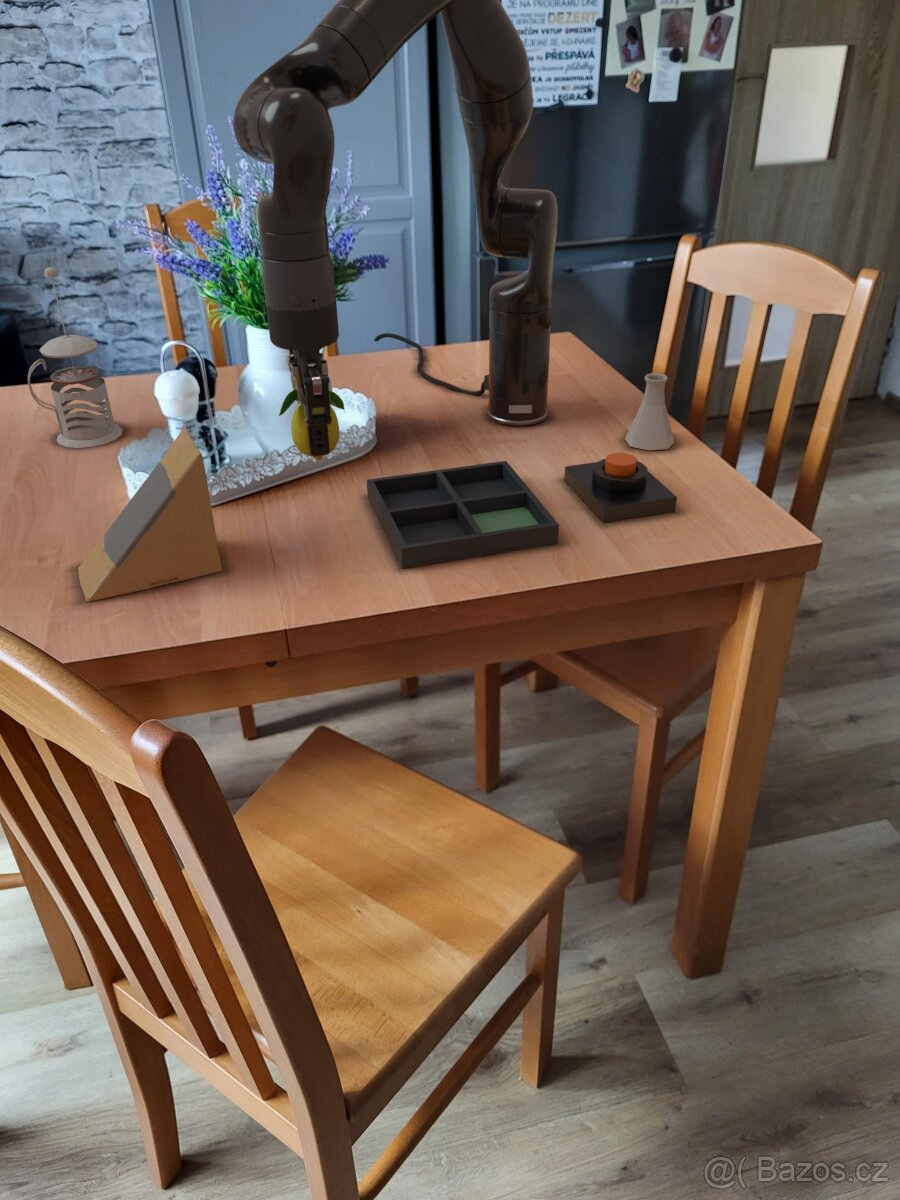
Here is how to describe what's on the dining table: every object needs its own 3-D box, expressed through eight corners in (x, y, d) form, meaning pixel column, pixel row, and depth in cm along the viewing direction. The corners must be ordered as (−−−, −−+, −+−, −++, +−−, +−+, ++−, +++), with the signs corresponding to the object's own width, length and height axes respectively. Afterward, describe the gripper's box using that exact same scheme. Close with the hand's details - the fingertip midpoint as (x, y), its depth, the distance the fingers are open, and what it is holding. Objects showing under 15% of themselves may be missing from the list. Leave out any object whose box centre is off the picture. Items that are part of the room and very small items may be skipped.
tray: (367, 497, 124) (366, 479, 123) (505, 478, 129) (506, 460, 127) (402, 568, 108) (401, 548, 107) (558, 544, 113) (559, 524, 111)
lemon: (285, 471, 108) (275, 388, 102) (292, 450, 113) (283, 369, 107) (343, 470, 108) (336, 386, 102) (348, 449, 113) (341, 368, 107)
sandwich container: (76, 568, 110) (44, 449, 102) (206, 539, 115) (185, 424, 107) (85, 603, 103) (52, 479, 95) (222, 571, 109) (202, 451, 100)
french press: (125, 441, 141) (89, 271, 128) (44, 454, 138) (-3, 280, 124) (120, 419, 149) (84, 256, 136) (42, 430, 146) (-2, 264, 132)
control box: (564, 481, 128) (565, 453, 126) (631, 471, 130) (633, 444, 128) (603, 523, 117) (605, 494, 115) (675, 512, 119) (678, 484, 117)
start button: (599, 467, 123) (600, 454, 122) (627, 463, 124) (628, 450, 123) (612, 479, 120) (613, 466, 119) (640, 475, 120) (642, 462, 119)
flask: (674, 453, 135) (682, 386, 129) (623, 450, 136) (629, 384, 131) (674, 434, 141) (682, 369, 135) (625, 431, 142) (631, 367, 137)
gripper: (347, 312, 95) (359, 464, 104) (324, 278, 107) (336, 417, 116) (273, 319, 93) (292, 473, 103) (258, 284, 105) (276, 425, 114)
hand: (315, 443), depth 109 cm, fingers closed on lemon, 5 cm apart
